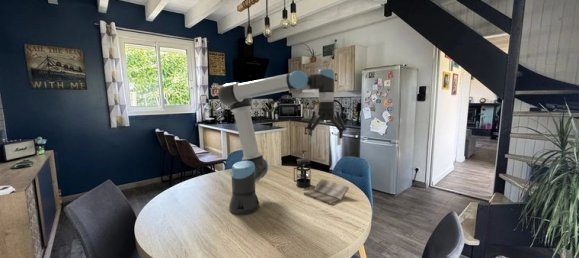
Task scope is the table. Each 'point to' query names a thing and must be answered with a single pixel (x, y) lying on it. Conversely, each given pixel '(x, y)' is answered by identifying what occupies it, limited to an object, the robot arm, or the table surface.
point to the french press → (303, 172)
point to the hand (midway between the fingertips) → (325, 143)
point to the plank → (331, 188)
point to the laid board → (322, 197)
